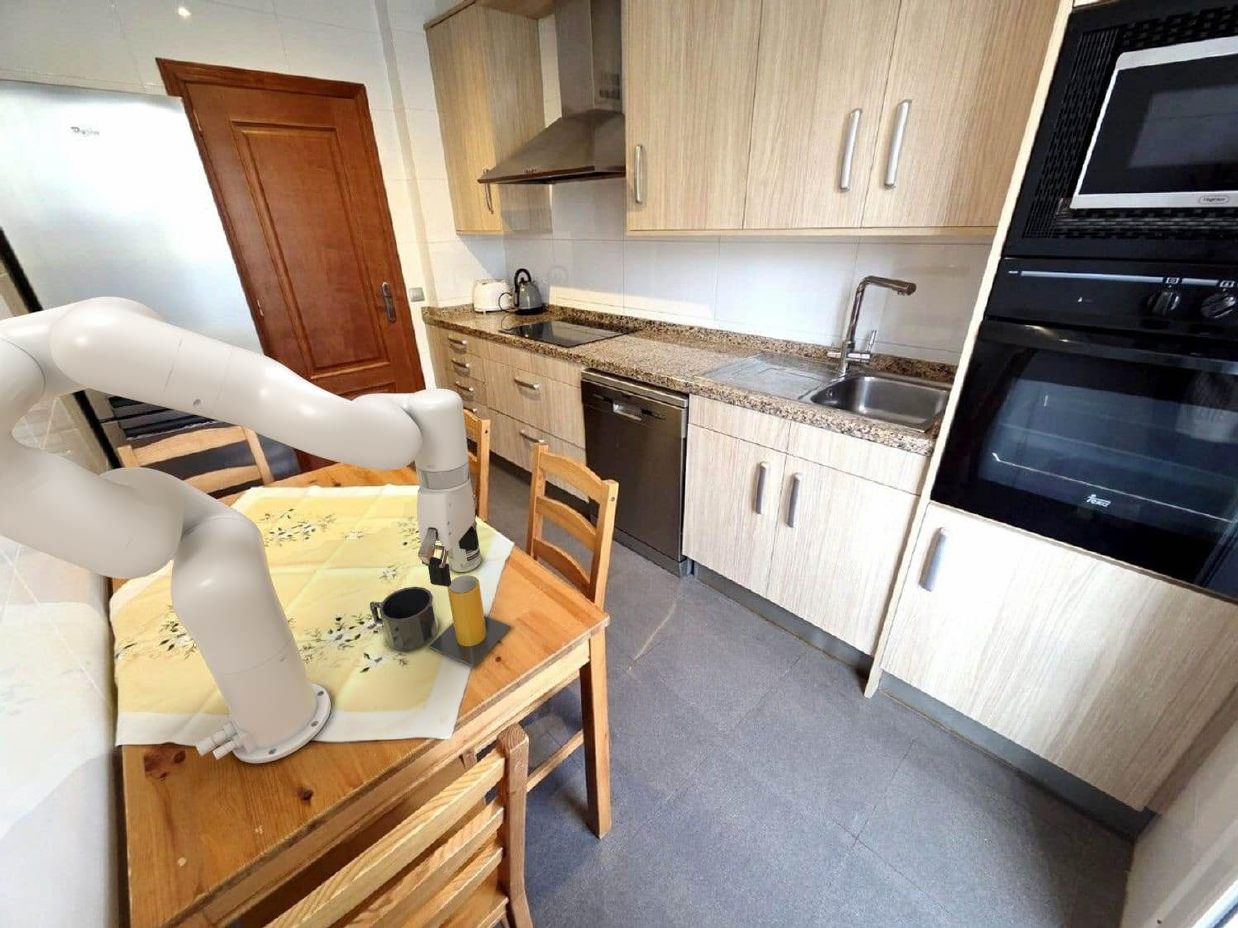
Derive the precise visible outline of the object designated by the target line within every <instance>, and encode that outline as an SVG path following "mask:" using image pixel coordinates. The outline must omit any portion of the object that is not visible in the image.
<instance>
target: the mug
mask: <svg viewBox="0 0 1238 928" xmlns="http://www.w3.org/2000/svg"><path fill="white" fill-rule="evenodd" d="M435 605H436V604H435V601H434V596H433V594H432V592H431V591H430V590H429V589H427V588H425V587H421V586H409V587H403V588H401V589H398V590H395V591H393V592H392V593H391V594H389V595H387V596H386V597H385V598H384V599H383V601H375V600H374V601H370V602H369V608H370V612H371V616H372V619H373V623H375V624H377V625H378V624H379V625H382V626H383V629H384V633H385V637H386V640H387V643H388V645H389V646H390V648H392V650H396V651H400V652H411V651H415V650H419V649H420V648H423V647H424V646H426V645H428V644H429V643H430V642H432V641H433V640H434V638H436V635H437V634H438V631H439V620H438V616H437V611H436V606H435ZM378 609H379V610H378Z"/></svg>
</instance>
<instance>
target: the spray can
mask: <svg viewBox="0 0 1238 928" xmlns="http://www.w3.org/2000/svg"><path fill="white" fill-rule="evenodd" d="M474 530H476V533H477V543H478V549H477V550H476V551H472V550H465V549H460V548H459V541H458V543H457V544H456V545H455V546H454V547H453V548H452V549H450V550H449V552H448V556H447V559H448V564H449V568H450V569H451V570H453V571H454V572H457V573H469V572H471V571H473V570H476V569H477V568H478V567H479V566H480V565H481V563H482V556H481V549H480V542H479V535H478V529H477V527H476V529H474Z"/></svg>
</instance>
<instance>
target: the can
mask: <svg viewBox="0 0 1238 928" xmlns="http://www.w3.org/2000/svg"><path fill="white" fill-rule="evenodd" d="M446 589H447V594H448V600H449V606H450V612H451V617H452V624H453V623H454V629H455V634H456V640H457V642H458V643H459V644H460V645H462V646H474V645H476V644H479V643H480V642H481V641H483V640H484V638H485V636H486V626H485V619H484V616H485V612H484V605H483V598H482V592H481V583H480V580H479V579H478V577H476V576H475V575H469V574H467V575H465V574H464V575H460V576H456V577H455V578H453V579H451V585H450V586H449V587H446Z"/></svg>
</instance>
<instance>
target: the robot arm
mask: <svg viewBox="0 0 1238 928" xmlns="http://www.w3.org/2000/svg"><path fill="white" fill-rule="evenodd" d="M88 389H91V390H94V391H98V392H101V393H105V394H108V395H113V396H116V397H121V398H123V399H129V400H133V401H136V402H141V403H145V404H150V405H154V406H157V407H163V408H167V409H170V410H174V411H179V412H182V413H187V414H190V415H191V414H192V415H196V416H200V417H204V418H208V419H211V420H216V421H220V422H223V423H227V424H232V425H235V426H239V427H243V428H245V429H248V430H250V431H252V432H254V433H256V434H258V435H260V436H262V437H265V438H268V439H271V440H273V441H276V442H279V443H281V444H284V445H286V446H289V447H291V448H293V449H297V450H299V451H301V452H304V453H307V454H310V455H312V456H315V457H319V458H323V459H326V460H329V461H333V462H336V463H341V464H346V465H349V466H353V467H359V468H364V469H368V470H373V471H379V472H380V471H382V472H385V471H386V472H388V471H389V472H391V471H396V470H400V469H404V468H405V467H407V466H409V465H410V464H412V463H413V462H414V466H415V472H416V478H417V485H418V487H419V488H418V489H417V494H416V495H417V497H416V515H417V516H416V517H417V528H418V529H417V530H418V538H419V543H420V548H419V550H418V552H417V557H418V559H419V560H420V561H421V564H423V565H424V566H426V567H427V569H428V570H427V571H428V575H429V581H430V582H429V583H430V584H431V585H434V586H441V587H445V588H447V587H449V586H450V585H451V581H452V577H451V570H450V565H449V563H447V559H448V552H449V550H450V549H452V548H453V547H454V546H455V545H456V544H457V543H458V541H459V548H460V549H465V550H472V551H476V550H477V549H478V543H477V535H478V532H477V533H476V530H474V529H476V528H477V527H478V523H477V521H476V518H477V515H478V510H477V504H478V497H477V496H474V493H473V487H472V482H471V477H472V476H471V469H470V460H469V459H470V458H469V450H468V439H467V430H466V422H465V421H466V420H465V411H464V404H463V400H462V397H461V395H460V394H459V393H458V392H456V391H454V390H452V389H447V388H426V389H421V390H419V391H415V392H410V393H409V392H408V393H385V392H384V393H382V392H381V393H380V392H379V393H367V394H363V395H359V396H357V397H356V398H354V399H352V400H350V399H347V398H345V397H342V396H339V395H337V394H335V393H332V392H329V391H327V390H325V389H323V388H321V387H319V386H317V385H315V384H313V383H311V381H308V380H307V379H305V378H304V377H301V375H299V374H297V373H296V372H294V371H293V370H291V369H290V368H289V367H287V366H286V365H284V364H283V363H281V362H279V361H278V360H275V359H273V358H272V357H269V356H267V355H264V354H262V353H259V352H256V351H252V350H249V349H246V348H243V347H240V346H237V345H234V344H231V343H229V342H225V341H223V340H219V339H215V338H213V337H211V336H207V335H204V334H202V333H201V334H200V333H197V332H194V331H192V330H188V329H186V328H183V327H181V326H177V325H174V324H171V323H168V322H166V321H165V319H163V317H162V316H161V315H160V314H158V313H157V312H156V311H155V310H153V309H151V308H150V307H148V306H146V305H145V304H143V303H141V302H139V301H136V300H132V299H128V298H126V297H119V296H98V297H92V298H88V299H84V300H80V301H76V302H72V303H69V304H64V305H60V306H56V307H52V308H49V309H44V310H40V311H35V312H30V313H27V314H21V315H17V316H14V317H9V318H4V319H0V536H2V537H3V538H6V539H8V540H11V541H13V542H15V543H18V544H21V545H23V546H25V547H28V548H31V549H33V550H36V551H39V552H41V553H43V554H45V555H49V556H52V557H54V558H56V559H59V560H61V561H64V562H67V563H68V564H69V563H70V564H72V565H74V566H77V567H80V568H82V569H85V570H87V571H89V572H92V573H95V574H97V575H101V576H103V577H106V578H107V577H108V578H113V579H118V580H135V579H140V578H145V577H148V576H151V575H153V574H155V573H157V572H159V571H160V570H162V569H164V567H166V566H167V565H168V564H169V562H171V561H173V563H172V567H171V575H170V576H171V577H170V600H171V604H172V608H173V611H174V613H175V616H176V618H177V619H178V621H179V622H180V624H181V625H182V627H183V628H184V629H185V631H186V632H187V633H188V634H189V636H190V637H191V639H192V640H193V643H194V644H195V645H196V648H197V649H198V651H199V653H200V655H201V657H202V659H203V660H204V663H205V665H206V667H207V668H208V670H209V672H210V674H211V676H212V678H213V681H214V682H215V684H216V687H217V689H218V691H219V692H220V694H221V697H222V699H223V701H224V703H225V705H226V707H227V709H228V711H229V713H228V714H227V718H228V719H229V721H228V722H227V723H225V724H223V725H222V726H221V727H222V729H220V730H218V731H217V732H215V733H213V734H211V735H210V734H209V736H207V737H204V738H203V739H201V740H200V741H198V742H197V743H195V744H194V745H195V748H196V749H197V752H198V754H199V756H200V757H201V758H202V757H204V756H205V755H207V754H209V753H210V752H212V754H213V756H214V757H215V759H216V761H218V760H220V759H221V758H223V757H224V756H227V755H228V754H229V753H230V752H232V753H233V754H234V756H235V757H236V758H237V759H238V760H239V761H242V762H245V763H248V764H263V763H264V764H265V763H269V762H273V761H277V760H279V759H282V758H284V757H287V756H289V755H290V754H292V753H294V752H296V751H298V750H299V749H300V748H302V747H304V746H305V745H306V744H308V743H309V742H310V741H311V740H313V739H314V738H315V736H317V734H318V733H319V732H320V731H321V730H322V728H323V727H324V725H325V724H326V723H327V720H328V718H329V717H330V713H331V710H332V709H331V708H332V702H331V699H330V695H329V694H328V691H327V690H326V689H325V688H324V687H323V686H321V685H320V684H316V683H312V682H311V679H310V676H309V674H308V671H307V668H306V665H305V663H304V660H303V658H302V655H301V653H300V650H299V647H298V645H297V641H296V638H295V635H294V633H293V631H292V629H291V626H290V624H289V621H288V618H287V616H286V612H285V610H284V608H283V605H282V603H281V600H280V598H279V596H278V594H277V591H276V588H275V586H274V582H273V578H272V575H271V571H270V567H269V561H268V556H267V552H266V546H265V541H264V536H263V534H262V532H261V530H260V528H259V527H258V525H257V524H256V523H255V522H254V521H253V520H252V519H251V518H249V517H248V516H246V515H245V514H243V513H241V512H240V511H238V510H237V509H234V507H231V506H230V505H228V504H226V503H224V502H222V501H220V500H219V499H216V498H215V497H213V496H211V495H209V494H208V493H206V492H204V491H202V490H200V489H199V488H197V487H195V486H193V485H191V484H190V483H187V482H186V481H184V480H183V479H180V478H178V477H176V476H174V475H172V474H169V473H166V472H164V471H161V470H158V469H153V468H149V467H141V466H139V467H138V466H128V467H127V466H126V467H119V468H115V469H110V470H108V471H105V472H103V473H101V474H97V473H95V472H92V471H91V470H88V469H86V468H85V467H83V466H81V465H79V464H78V463H76V462H74V461H73V460H70V459H68V458H66V457H63V456H61V455H58V454H55V453H53V452H50V451H46V450H44V449H40V448H36V447H33V446H30V445H26V444H24V443H21V442H19V441H18V440H17V439H16V438H15V437H14V436H13V431H14V427H15V426H16V424H17V423H18V422H19V421H20V420H21V419H22V418H23V417H24V416H25V415H26V414H27V413H28V412H29V411H30V410H31V409H32V408H33V406H34V405H37V404H40V403H44V402H46V401H50V400H53V399H56V398H59V397H63V396H66V395H69V394H70V395H71V394H74V393H76V392H81V391H84V390H88ZM437 542H439V543H440V544H441V545H439V544H436V543H437ZM436 550H439V551H441V553H440V556H439V557H435V553H436ZM227 741H228V742H227Z"/></svg>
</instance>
